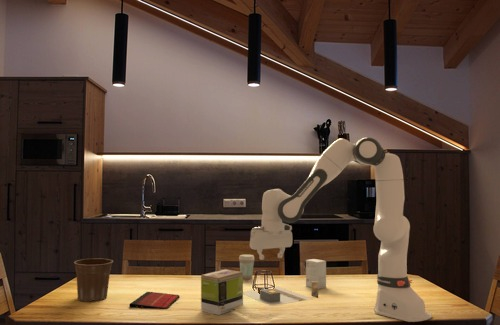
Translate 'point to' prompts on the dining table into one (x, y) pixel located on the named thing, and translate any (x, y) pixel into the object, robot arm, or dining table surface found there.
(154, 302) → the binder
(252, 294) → the floor panel
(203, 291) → the tea box
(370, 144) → the robot arm
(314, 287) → the peg
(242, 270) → the coffee cup
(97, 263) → the plant pot
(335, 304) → the dining table surface
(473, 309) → the dining table surface
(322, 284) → the small box
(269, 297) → the grey rectangular block
